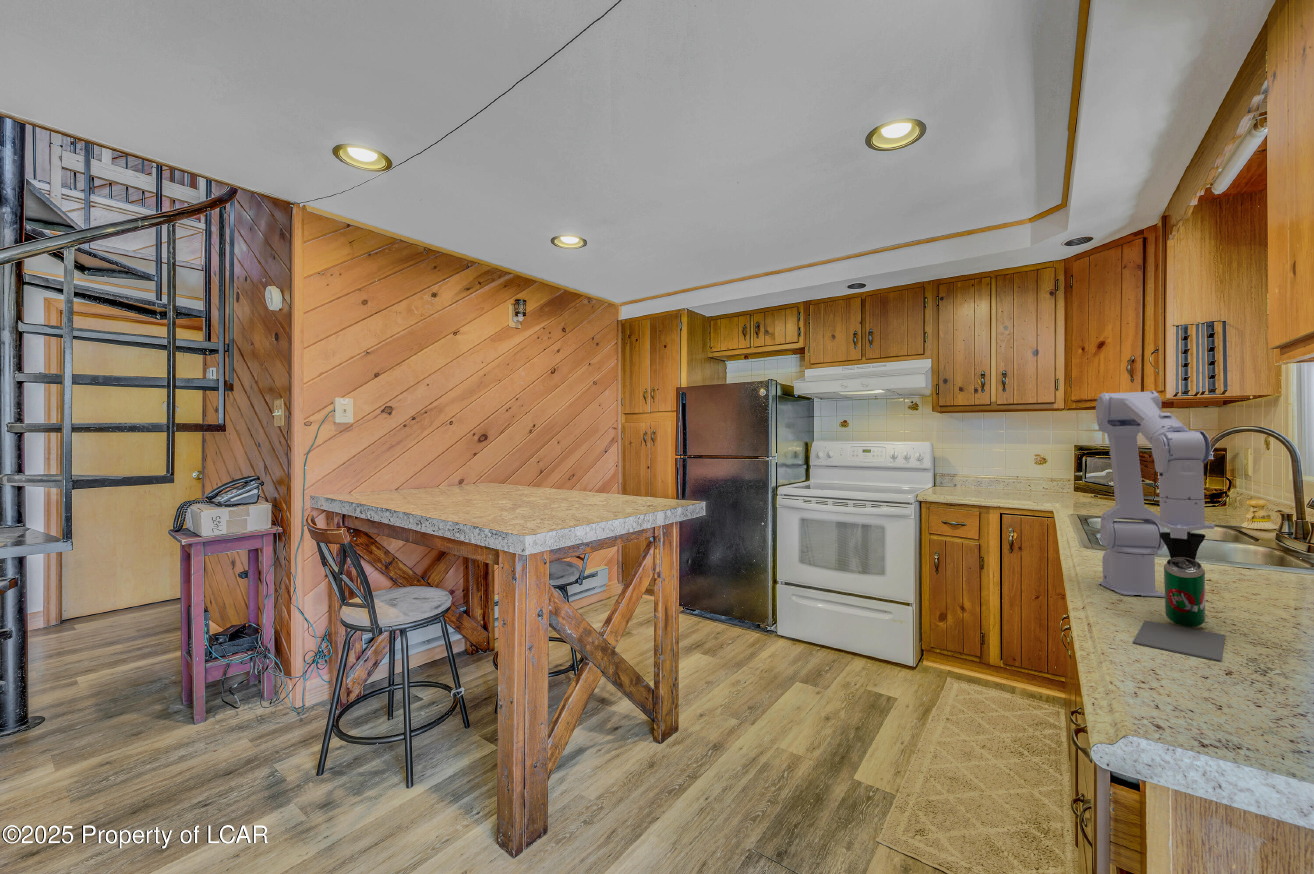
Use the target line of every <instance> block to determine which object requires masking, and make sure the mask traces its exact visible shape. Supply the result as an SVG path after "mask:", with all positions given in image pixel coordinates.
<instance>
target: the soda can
mask: <svg viewBox="0 0 1314 874" xmlns="http://www.w3.org/2000/svg"><path fill="white" fill-rule="evenodd" d="M1205 578H1206V571H1205V569H1204V567H1203V565H1202V563H1201V562H1199V561H1198V560H1197V559H1196V560H1193V559H1190V558H1185V557H1174V558H1169V559H1168V560H1166V563H1164V565H1163V581H1164V584H1163V585H1164V594H1165V597H1164V609H1165V610H1164V611H1165V612H1164V613H1165V617H1166V618H1167V619H1169V621H1171V622H1172V623H1174V624H1175V625H1176V626H1179V627H1185V628H1197V627H1200V626H1202V625H1204V624H1205V622H1206V579H1205Z"/></svg>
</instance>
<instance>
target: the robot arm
mask: <svg viewBox="0 0 1314 874" xmlns="http://www.w3.org/2000/svg"><path fill="white" fill-rule="evenodd" d="M1162 404H1163V403H1162V399H1161V395H1159V393H1158V392H1157V391H1155V390H1149V391H1135V392H1114V393H1113V392H1109V393H1108V392H1102V393H1100V394H1099V395H1098V397H1097V399H1096V404H1095V415H1096V424H1097V425H1096V426H1097V427H1098V431H1100V432H1102V433H1105V434H1106V435H1107V439H1108V444H1109V451H1110V453H1109V454H1110V462H1111V471H1112V472H1111V473H1112V483H1113V491H1114V492H1113V493H1114V494H1113V495H1114V503H1115V505H1114V506H1113V507H1111V508H1109V509H1108V510H1106V511H1104V512H1103V513H1102V514H1101V516H1100V526H1099V534H1100V535H1099V536H1100V541H1101V543H1102V544H1103V546H1105V548H1107V549H1106V550H1105V552H1103V555H1102V559H1101V560H1102V562H1101V563H1102V565H1101V566H1102V581H1098V583H1099V584H1098V585H1100V584H1101V585H1100V586H1103V587H1104V588H1107V589H1109V590H1111V591H1113V590H1114V592H1116V593H1118V594H1120V595H1122V594H1123V596H1134V595H1141V596H1140V597H1160V598H1165V593H1164V592H1161V591H1158V590H1156V560H1155V559H1156V558H1155V555H1158V554H1159V552H1160V551H1162V550H1163V549H1164V548H1165V547H1166V549H1167V551H1168V554H1169V557H1170V558H1169V559H1171V558H1174V557H1185V558H1190V559H1193V560H1196V561H1197V554H1198V551H1199V548H1200V547H1201V545H1202V543H1203V542H1204V541H1205V539H1206V534H1205V533H1198V532H1194V531H1201V530H1207V529H1208V530H1215V527H1216V526H1215V524H1214V523H1206V521H1205V517H1206V515H1205V511H1206V510H1205V482H1204V481H1205V480H1204V479H1205V477H1204V464H1205V463H1207V462H1208V461H1209V459H1210V457H1211V453H1212V444H1211V440H1210V437H1209V435H1208V434H1207V433H1206V432H1205V431H1204V430H1189V428H1188V427H1186V426H1185V425H1184V424H1183V423H1182V422H1181V421H1180V420H1179V419H1178V418H1176V417H1175V416H1174V415H1172V413H1170V412H1162V406H1163V405H1162ZM1139 434H1141V435H1142V436H1143V437H1144V439H1146V441H1147V442H1149V444H1150V445H1151V453H1152V458H1153V460H1154V468H1155V472H1157V473H1158V487H1159V495H1158V496H1159V514H1158V513H1156V512H1154V511H1152V510H1151V509H1149V508H1147V507H1146V506H1145V501H1144V491H1143V481H1142V480H1143V479H1142V471H1141V464H1140V455H1139V454H1140V453H1139V445H1138V436H1139ZM1133 520H1134V521H1133ZM1164 528H1165V529H1167V530H1169V531H1170V532H1169V531H1166V530H1165V529H1164Z"/></svg>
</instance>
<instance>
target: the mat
mask: <svg viewBox="0 0 1314 874" xmlns="http://www.w3.org/2000/svg"><path fill="white" fill-rule="evenodd" d="M1224 640H1226V634H1223V633H1222V634H1221V633H1219V632H1212V631H1211V632H1210V631H1205V630H1201V629H1196V628H1191V627H1184V626H1180V625H1172V624H1168V623H1161V622H1157V621H1152V620H1146V619H1145V620H1144V621H1143V623H1142V625H1141V627H1140V628H1139V630H1138V632H1137V633H1136V635H1135V637H1134V638H1133V640H1132V644H1133V643H1134V644H1133V645H1137V644H1139V645H1138V646H1142V645H1143V646H1142V647H1148V648H1152V649H1156V648H1157V650H1161V651H1167V652H1172V653H1175V654H1179V655H1180V654H1181V655H1185V656H1190V657H1195V658H1199V657H1201V659H1204V658H1206V659H1205V660H1209V659H1210V660H1209V661H1214V660H1215V661H1214V662H1219V661H1221V660H1222V658H1223V654H1224V647H1225V641H1224ZM1221 662H1222V661H1221Z"/></svg>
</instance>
